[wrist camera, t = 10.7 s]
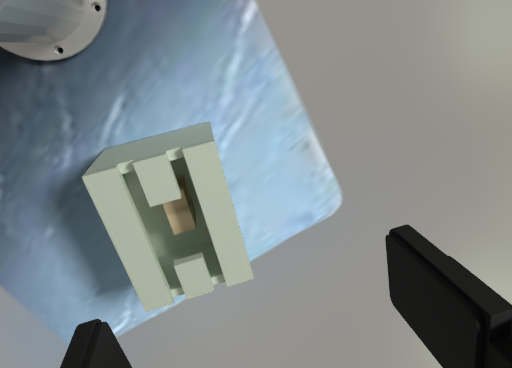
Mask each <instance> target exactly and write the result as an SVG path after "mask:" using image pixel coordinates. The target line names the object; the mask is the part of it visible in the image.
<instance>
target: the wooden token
mask: <svg viewBox="0 0 512 368" xmlns="http://www.w3.org/2000/svg"><path fill="white" fill-rule="evenodd" d="M176 180H177V183H178V186H179V188H180V191H181V198H180V199H177V200H173V201H170V202H166V203H163V207H164V209H165V212H166V214H167V217H168V220H169V222H170V225H171V228H172V230H173V233H174V235H176V234H179V233H183V232H186V231H190V230H193V229H196V211H195V208H194V205H193V202H192V199H191V196H190V193H189V190H188V187H187V184H186V181H185V178H184V175H180V176H176Z"/></svg>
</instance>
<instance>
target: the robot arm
mask: <svg viewBox="0 0 512 368" xmlns="http://www.w3.org/2000/svg"><path fill="white" fill-rule="evenodd" d="M97 5H99V6H100V8H101V9H100V11H97V10H96V6H97ZM107 6H108V0H0V47H2V48H3V49H5V50H7V51H9V52H11V53H14V54H16V55H18V56H22V57H25V58H29V59H33V60H43V61H51V60H60V59H65V58H69V57H71V56H74V55H76V54H79V53H80V52H82V51H83V50H85V49H86V48H87V47H89V46H90V45H91V44H92V42H93V41H94V40H95V39H96V38H97V37H98V35H99V33H100V31H101V29H102V28H103V25H104V22H105V18H106V15H107ZM60 47H61V48H62V49H63V53H60V51H59V48H60ZM386 251H387V264H388V277H389V290H390V298H391V301H392V303H393V305H394V307H395V308H396V309H397V310H398V312H399V313H400V314H401V315H402V317H403V318H404V319H405V321H406V322H407V323H408V324H409V326H410V327H411V328H412V329H413V331H414V332H415V333H416V334H417V336H418V337H419V338H420V339H421V341H422V342H423V343H424V345H425V346H426V347H427V348H428V350H429V351H430V352H431V353H432V355H433V356H434V357H435V358H436V360H437V361H438V362H439V363H440V365H441V366H442V367H443V368H512V305H511V304H510V303H509V302H507V301H506V300H505V299H504V298H502V297H501V296H500V295H499V294H497V293H496V292H495V291H494V290H492V289H491V288H490V287H489V286H487V285H486V284H485V283H484V282H482V281H481V280H480V279H479V278H477V277H476V276H475V275H474V274H472V273H471V272H470V271H469V270H467V269H466V268H465V267H463V266H462V265H461V264H460V263H459V262H457V261H456V260H455V259H453V258H452V257H450V256H447V255H446V254H444V253H443V252H442V251H441V250H439V249H438V248H437V247H436V246H434V245H433V244H432V243H431V242H429V241H428V240H427V239H426V238H425V237H423V236H422V235H421V234H420V233H418V232H417V231H416V230H415V229H413V228H412V227H411V226H409V225H403V226H400V227H397V228H393V229H391V230H390V232H389V235H387V236H386ZM60 368H132V367H131V365H130V363H129V361H128V359H127V357H126V356H125V354H124V352H123V350H122V348H121V347H120V345H119V343H118V341H117V339H116V337H115V336H114V334H113V332H112V330H111V328H110V326H109V325H108V323H107V322H101V320H99V319H95V320H92V321H89V322H85V323H82V324H79V325H78V326H77V328H76V330H75V332H74V335H73V337H72V340H71V342H70V344H69V347H68V350H67V352H66V355H65V357H64V359H63V362H62V364H61V367H60Z"/></svg>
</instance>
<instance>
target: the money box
mask: <svg viewBox="0 0 512 368" xmlns="http://www.w3.org/2000/svg"><path fill="white" fill-rule="evenodd" d="M180 175H184V178H185V181H186V184H187V187H188V190H189V193H190V196H191V199H192V202H193V205H194V208H195V211H196V229H193V230H190V231H186V232H183V233H179V234H176V235H174V233H173V230H172V228H171V225H170V222H169V220H168V217H167V214H166V212H165V209H164V207H163V203H166V202H170V201H173V200H177V199H180V198H181V191H180V188H179V186H178V183H177V180H176V176H180ZM82 179H83V181H84V183H85V186H86V188H87V190H88V192H89V194H90V196H91V198H92V200H93V202H94V204H95V207H96V209H97V211H98V213H99V215H100V217H101V219H102V221H103V223H104V225H105V228H106V230H107V232H108V234H109V236H110V238H111V240H112V242H113V244H114V246H115V248H116V251H117V253H118V255H119V257H120V259H121V261H122V263H123V265H124V267H125V269H126V272H127V274H128V276H129V278H130V280H131V282H132V284H133V286H134V288H135V290H136V293H137V295H138V297H139V299H140V301H141V303H142V305H143V307H144V309H145V311H146V312H147V311H150V310H154V309H157V308H160V307H163V306H167V305H170V304H173V301H174V297H176V296H179V295H182V294H185V295H186V298H187V299H189V298H193V297H196V296H199V295H202V294H205V293H209V292H212V291H214V287H213V285H215V284H218V283H222V282H225V281H226V284H227V286H231V285H235V284H238V283H241V282H245V281H248V280H251V279H254V277H253V273H252V270H251V267H250V263H249V259H248V256H247V252H246V248H245V245H244V241H243V238H242V234H241V231H240V227H239V224H238V220H237V217H236V213H235V210H234V206H233V203H232V199H231V196H230V192H229V189H228V185H227V182H226V178H225V175H224V171H223V168H222V164H221V161H220V157H219V154H218V150H217V147H216V143H215V140H214V136H213V133H212V129H211V126H210V122H209V121H208V122H204V123H200V124H196V125H193V126H189V127H185V128H181V129H178V130H174V131H170V132H166V133H163V134H159V135H155V136H151V137H148V138H144V139H140V140H136V141H133V142H129V143H125V144H121V145H117V146H114V147H110V148H106V149H104V151H103V152H102V153H101V154H100V155H99V157H98V158H97V159H96V160H95V161H94V163H93V164H92V165H91V166H90V167H89V169H88V170H87V171H86V172H85V173H84V175H83V176H82Z"/></svg>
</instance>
